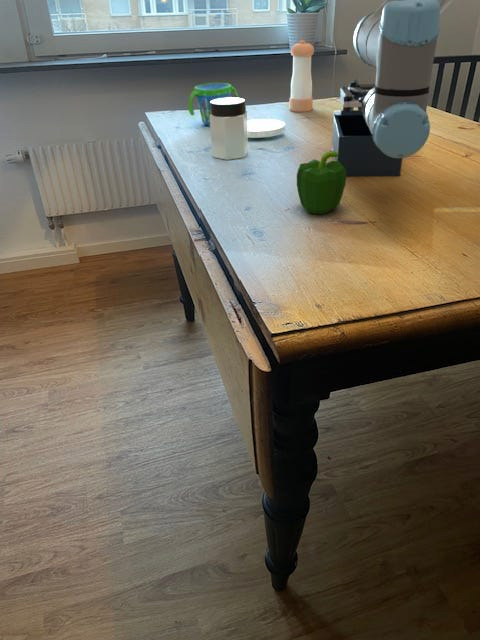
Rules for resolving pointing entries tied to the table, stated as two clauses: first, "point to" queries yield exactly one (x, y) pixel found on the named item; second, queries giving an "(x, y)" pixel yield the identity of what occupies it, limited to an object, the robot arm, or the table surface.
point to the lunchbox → (360, 149)
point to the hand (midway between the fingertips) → (371, 86)
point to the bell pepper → (321, 184)
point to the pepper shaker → (301, 78)
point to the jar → (228, 128)
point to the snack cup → (209, 97)
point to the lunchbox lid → (356, 112)
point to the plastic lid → (264, 128)
